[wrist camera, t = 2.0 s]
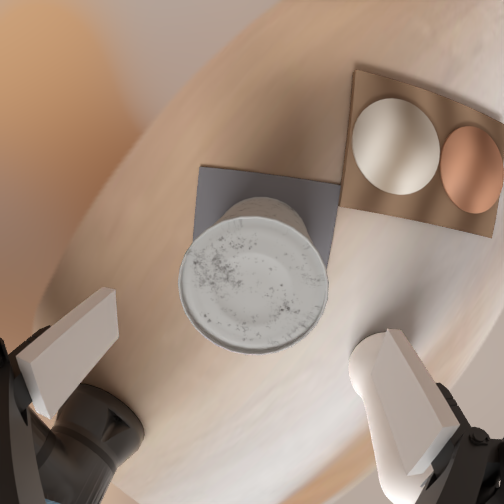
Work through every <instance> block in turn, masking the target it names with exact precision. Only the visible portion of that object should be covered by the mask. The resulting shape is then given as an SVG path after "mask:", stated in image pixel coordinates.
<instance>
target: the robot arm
mask: <svg viewBox="0 0 504 504" xmlns="http://www.w3.org/2000/svg"><path fill="white" fill-rule="evenodd" d="M118 338H119V331H118V320H117V306H116V290H115V289H111V288H107V287H101V288H100V289H99V290H97V291H96V292H95V293H93V294H92V295H91V296H90V297H88V298H87V299H86V300H84V301H83V302H82V303H80V304H79V305H78V306H77V307H75V308H74V309H73V310H71V311H70V312H69V313H68V314H66V315H65V316H64V317H63V318H61V319H60V320H59V321H58V322H56V323H55V324H54V325H53V326H50V325H49V326H47V327H44V328H42V329H39V330H38V331H37V332H36V333H34V334H33V335H32V337H29V338H28V339H27V340H26V341H24V342H23V343H22V344H21V345H19V346H18V347H17V348H16V349H15V350H13V351H12V352H11V353H10V354H9V355H8V353H7V350H6V347H5V344H4V341H3V340H2V338H0V504H100V503H101V501H102V499H103V497H104V494H105V493H106V490H107V488H108V486H109V484H110V482H111V480H112V478H113V476H114V474H115V472H116V470H117V468H118V467H119V466H120V465H121V464H123V463H124V462H125V461H126V460H127V459H128V458H130V457H131V456H132V455H133V454H134V453H135V452H136V451H137V450H138V449H139V447H140V445H141V443H142V441H143V438H144V430H143V427H142V425H141V423H140V421H139V420H138V418H137V417H136V416H135V414H134V413H133V412H132V411H131V410H130V409H129V408H128V407H127V406H126V405H125V404H123V403H122V402H121V401H120V400H118V399H117V398H115V397H114V396H112V395H111V394H109V393H107V392H105V391H103V390H101V389H99V388H97V387H94V386H90V385H85V384H80V383H81V382H82V380H83V379H84V378H85V377H86V376H87V374H88V373H89V372H90V371H91V370H92V368H93V367H94V366H95V365H96V364H97V362H98V361H99V360H100V359H101V358H102V356H103V355H104V354H105V353H106V352H107V351H108V349H109V348H110V347H111V346H112V345H113V344H114V342H115V341H116V340H117V339H118ZM371 377H372V380H373V382H374V385H375V387H376V390H377V393H378V395H379V398H380V401H381V403H382V406H383V409H384V411H385V414H386V417H387V420H388V423H389V425H390V428H391V431H392V434H393V437H394V440H395V443H396V446H397V449H398V451H399V454H400V458H401V461H402V464H403V467H404V470H405V473H406V476H410V475H416V474H422V473H424V472H425V470H426V469H427V468H428V467H429V466H430V464H431V465H432V467H433V470H434V471H433V472H432V473H431V474H430V475H429V477H428V478H427V479H426V480H425V481H424V482H423V483H422V484H421V486H420V487H423V486H424V485H425V486H424V488H423V490H422V491H421V493H420V495H419V497H418V499H417V501H416V503H415V504H504V438H503V439H502V440H501V439H490V437H489V435H488V434H487V433H486V432H485V431H484V430H482V429H480V428H477V427H471V426H470V424H469V423H468V421H467V419H466V418H465V416H464V415H463V413H462V411H461V409H460V408H459V406H457V403H456V401H455V400H454V399H453V396H452V395H451V393H450V392H449V390H448V389H447V388H446V387H445V386H443V385H442V384H441V383H435V381H434V380H433V378H432V377H431V375H430V373H429V372H428V370H427V369H426V367H425V366H424V364H423V362H422V361H421V359H420V358H419V356H418V355H417V353H416V352H415V350H414V349H413V347H412V345H411V344H410V342H409V341H408V339H407V338H406V337H405V335H404V334H403V332H402V331H401V330H398V329H387V331H386V334H385V337H384V340H383V343H382V345H381V348H380V351H379V354H378V356H377V359H376V362H375V364H374V367H373V369H372V372H371ZM31 402H33V405H34V407H35V409H36V412H37V413H39V414H41V415H43V416H45V417H47V418H49V419H52V417H53V416H54V415H55V414H56V412H57V411H58V413H57V416H56V420H55V424H54V426H53V427H52V429H51V430H50V429H49V428H48V427H47V426H46V424H45V423H44V422H43V421H42V420H41V419H40V418H39V417H38V416H37V414H36V413H35V412H34V411H33V410H32V409H31V408H30V407H29V404H30V403H31ZM500 480H501V482H500V487H499V481H500Z"/></svg>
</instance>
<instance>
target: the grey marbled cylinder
mask: <svg viewBox="0 0 504 504" xmlns="http://www.w3.org/2000/svg"><path fill="white" fill-rule="evenodd" d="M178 287H179V295H180V300H181V303H182V306H183V308H184V311H185V314H186V315H187V317H188V318H189V320H190V321H191V323H192V325H193V326H194V327H195V328H196V329H197V330H198V331H199V332H200V333H201V334H202V335H203V336H204V337H205V338H206V339H208V340H209V341H211V342H212V343H214V344H215V345H217V346H219V347H221V348H224V349H226V350H229V351H231V352H235V353H240V354H245V355H265V354H271V353H276V352H279V351H282V350H284V349H287V348H289V347H292V346H293V345H295V344H296V343H298V342H299V341H301V340H302V339H304V338H305V337H306V336H307V335H308V334H309V333H310V332H311V331H312V330H313V329H314V328H315V326H316V325H317V323H318V321H319V320H320V318H321V316H322V315H323V312H324V309H325V306H326V303H327V300H328V287H329V282H328V276H327V271H326V266H325V264H324V262H323V260H322V258H321V256H320V253H319V251H318V250H317V249H316V247H315V246H314V245H313V242H312V240H311V238H310V236H309V234H308V232H307V228H306V226H305V224H304V222H303V220H302V218H301V217H300V216H299V215H298V214H297V212H296V211H295V210H294V209H293V208H291V207H290V206H289V205H287V204H286V203H284V202H282V201H279V200H277V199H273V198H269V197H253V198H249V199H245V200H242V201H241V202H239V203H237V204H235V205H233V206H232V207H231V208H230V209H229V210H228V211H226V212H225V214H224V215H223V216H222V217H221V218H220V219H219V220H218V221H217V222H216V223H215V224H213V225H212V226H211V227H209V228H207V229H206V230H205V231H204V232H203V233H202V234H200V235H199V236H198V237H197V238H196V239H195V240H194V241H193V243H192V244H191V246H190V247H189V249H188V250H187V251H186V253H185V255H184V258H183V261H182V263H181V266H180V271H179V280H178Z"/></svg>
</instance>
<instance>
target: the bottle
mask: <svg viewBox="0 0 504 504" xmlns="http://www.w3.org/2000/svg"><path fill="white" fill-rule="evenodd" d="M385 334H386V332H382V333H376V334H374V335H371V336H369V337H367V338H365V339H364V340H362V341H361V342H360V343H359V344H358V345H357V346H356V348H355V349H354V351H353V352H352V354H351V356H350V359H349V376H350V380H351V383H352V386H353V388H354V390H355V391H356V392H357V394H358V395H359V396H361V397H362V399H363V402H364V405H365V409H366V414H367V418H368V423H369V428H370V433H371V438H372V443H373V448H374V453H375V459H376V464H377V470H378V475H379V480H380V485H381V488H382V489H383V492H384V494H385V495H386V496H387V497H388V498H389V500H390V501H391V502H393V503H394V504H415V503H416V501H417V499H418V497H419V495H420V493H421V491H422V490H423V488H424V486H425V485H424V486H423V487H420V486H421V484H422V483H423V482H424V481H425V480H426V479H427V478H428V477H429V475H430V474H431V473H432V472H433V471H434V470H433V467H432V465H431V464H430V466H429V467H428V468H427V469H426V470H425V472H424V473H422V474H416V475H410V476H406V473H405V470H404V467H403V464H402V461H401V458H400V454H399V451H398V449H397V446H396V443H395V440H394V437H393V434H392V431H391V428H390V425H389V423H388V420H387V417H386V414H385V411H384V409H383V406H382V403H381V401H380V398H379V395H378V393H377V390H376V387H375V385H374V382H373V380H372V377H371V372H372V369H373V367H374V364H375V362H376V359H377V356H378V354H379V351H380V348H381V345H382V343H383V340H384V337H385Z"/></svg>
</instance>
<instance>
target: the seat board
mask: <svg viewBox="0 0 504 504" xmlns="http://www.w3.org/2000/svg"><path fill="white" fill-rule="evenodd" d="M503 161H504V124H503V123H501V122H499V121H497V120H495V119H493V118H491V117H489V116H487V115H485V114H483V113H481V112H478V111H476V110H474V109H472V108H470V107H467V106H465V105H463V104H460V103H458V102H456V101H453V100H451V99H448V98H446V97H443V96H441V95H438V94H436V93H433V92H430V91H427V90H425V89H422V88H419V87H416V86H413V85H410V84H407V83H404V82H400V81H397V80H394V79H390V78H387V77H383V76H380V75H376V74H372V73H368V72H364V71H360V70H355V71H354V72H353V80H352V92H351V103H350V114H349V124H348V133H347V141H346V150H345V157H344V165H343V172H342V179H341V189H340V196H339V202H338V206H340V207H346V208H351V209H357V210H363V211H368V212H374V213H379V214H384V215H390V216H395V217H400V218H405V219H410V220H415V221H419V222H424V223H429V224H433V225H438V226H442V227H447V228H451V229H456V230H460V231H464V232H468V233H472V234H476V235H481V236H485V237H488V238H492V234H493V230H494V225H495V220H496V214H497V208H498V202H499V196H500V193H501V190H502V186H503V180H504V168H503Z"/></svg>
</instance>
